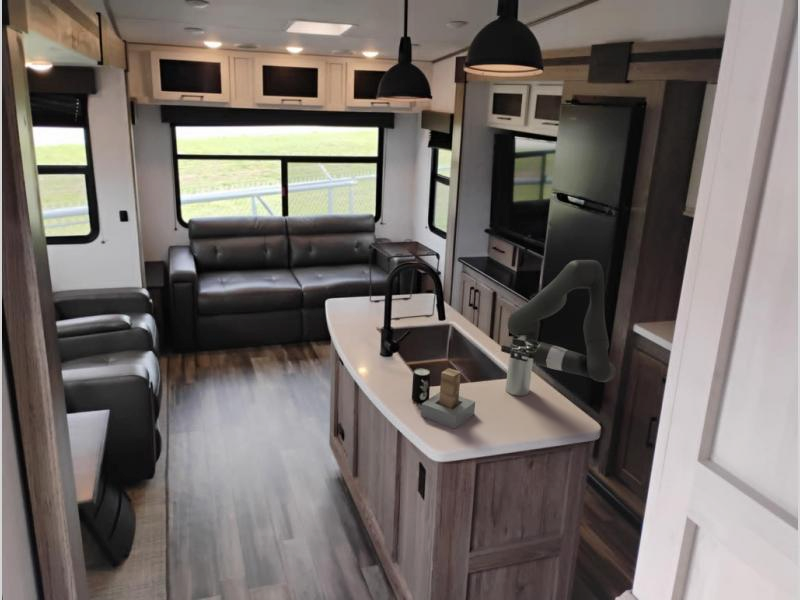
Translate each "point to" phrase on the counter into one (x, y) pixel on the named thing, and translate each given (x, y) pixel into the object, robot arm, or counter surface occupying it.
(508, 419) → the counter surface
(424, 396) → the beverage can
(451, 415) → the well block
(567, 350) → the robot arm
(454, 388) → the tall wooden block
